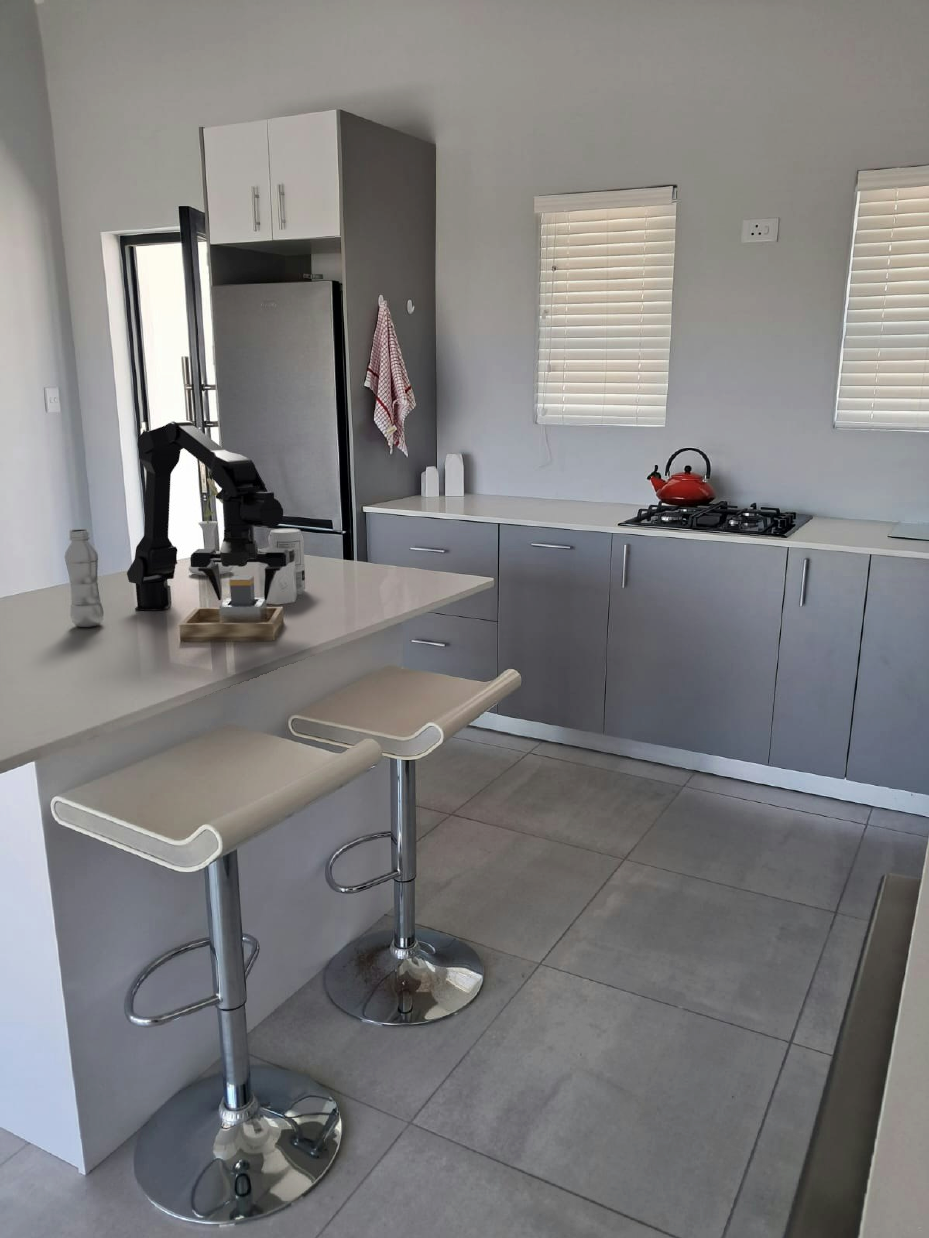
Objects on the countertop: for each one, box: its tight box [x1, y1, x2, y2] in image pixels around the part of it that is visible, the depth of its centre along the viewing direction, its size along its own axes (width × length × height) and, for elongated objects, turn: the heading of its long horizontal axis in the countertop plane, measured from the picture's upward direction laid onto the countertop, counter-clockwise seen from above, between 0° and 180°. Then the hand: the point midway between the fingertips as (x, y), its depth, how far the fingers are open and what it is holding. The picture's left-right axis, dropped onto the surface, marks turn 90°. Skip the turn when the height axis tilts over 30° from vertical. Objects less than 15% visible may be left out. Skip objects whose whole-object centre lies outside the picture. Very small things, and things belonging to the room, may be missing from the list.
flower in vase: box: [188, 477, 234, 577], centre depth 242 cm, size 13×11×25 cm
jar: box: [257, 546, 298, 606], centre depth 214 cm, size 9×8×12 cm
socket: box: [219, 597, 268, 623], centre depth 188 cm, size 8×8×6 cm
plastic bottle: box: [64, 528, 105, 628], centre depth 190 cm, size 6×7×20 cm
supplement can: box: [267, 527, 306, 595], centre depth 222 cm, size 8×8×15 cm
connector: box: [229, 575, 256, 605], centre depth 187 cm, size 4×4×8 cm
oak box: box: [178, 606, 284, 643], centre depth 187 cm, size 18×14×4 cm
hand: (243, 599), depth 187 cm, fingers open, 9 cm apart
